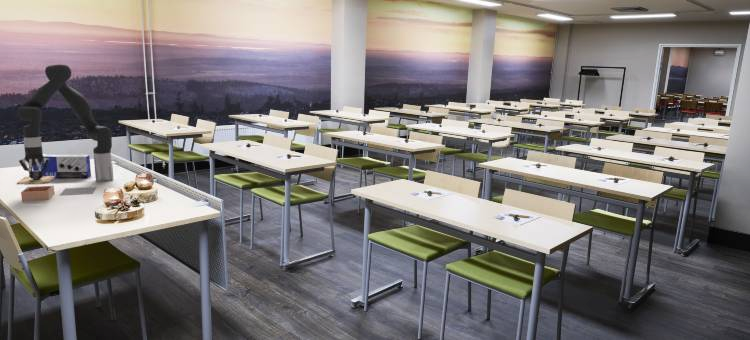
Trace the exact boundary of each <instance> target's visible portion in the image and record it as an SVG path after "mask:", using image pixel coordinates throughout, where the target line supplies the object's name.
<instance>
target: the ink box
mask: <svg viewBox="0 0 750 340" xmlns="http://www.w3.org/2000/svg"><path fill="white" fill-rule="evenodd" d="M43 156H44V158H47V159H50V161H49V164H48V166H47V169H45V170H43V176H55V178H54V179H55V180H56V179H57V180H59V179H60V180H64V179H65V180H67V179H68V180H69V179H71V180H73V179H74V180H77V179H82V180H84V179H85V180H86V179H89V178H91V177H92V171H91V159H90V158H91V157H90V154H49V155H43ZM41 164H42V168H43V167H44V164H45V162H44V160H43V161H42V162H41ZM32 171H39V169H38V167H37V165H33V169H32ZM54 179H53V180H54Z"/></svg>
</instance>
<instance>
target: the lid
mask: <svg viewBox="0 0 750 340" xmlns="http://www.w3.org/2000/svg"><path fill="white" fill-rule="evenodd" d="M32 175H33V179H31V178H30V177H29V176H25V177H23V178H21V179H20V180H18V182H16V185H17V186H18V185H24V186H25V185H46V184H50V183H51V182H52V181H53V180H54V178H55V176H43V177H42V178H39V171H33V170H32Z"/></svg>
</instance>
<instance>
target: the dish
mask: <svg viewBox="0 0 750 340" xmlns="http://www.w3.org/2000/svg"><path fill="white" fill-rule="evenodd" d="M20 195H21V202H22V203H23V202H25V201H44V200H50V199H52V197H53V196H54V195H55V186H54V185H42V186H38V185H37V186H27V187H25V188H24V189H23V190H22V191H21V192H20Z"/></svg>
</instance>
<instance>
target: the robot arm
mask: <svg viewBox="0 0 750 340" xmlns="http://www.w3.org/2000/svg"><path fill="white" fill-rule="evenodd" d="M44 72H45V75H46V78H47V79H48V80H49V81H47V82H46V83H45V84H43V85H42V86H40V87H39V88H38V89H37V90H36V91H35V93H33V95H32V97H30V99H29V100H27V101H25V102H24V103H23V104H21V106H19V108H18V109H17V112H16V113H17V114H16V115H17V117H18V119H19V120H22V121H30V122H29V124H27V125H24V126H23V128H22V129H23V132H22V133H23V147H24V155H25V156H24V158H22V159H19V161H18V162H19V164H20V166H21V168H23V170H24V171H27V172H28V175H29V176H28V177H30V178H31V179H33V175H32V171H33V165H37V167H38V169H39V178H42V177H43V170H45V169H47V166H48V164H49V161H50V159H47V158H44V156H43V154H44V153H43V144H42V143H43V142H42V139H41V132H40V131H41V130H40V128H41V123H42V119H43V112H42V110H41V109H44V108H45V106H47V104H48V103H49V101H51V100H50V99H51V98H52V97H53V95H54V94H55V93H57V91H58V92H59V93H60V95H61V96H62V98H64V100H65V101H66V103H67V104H68V107H70V109H71V110H72V112H73V113H74V114H75V115H76V117H77V118H78V120H79V121H80V123H81V124H82V127H84V129H85V131H86V132H87V135H88V136H89V138H90V139H91V140H92V141H95V142H96V143H97V144H96V146H95V147H93V163H94V174H95V182H99V183H100V182H101V183H102V182H104V183H105V182H112V181H113V180H114V170H113V169H114V167H113V163H112V150H111V149H112V145H113V144H112V142H113V137H112V131H111V129H110V128H109V127H107V126H101V125H99V124H98V123H97V122H96V120H95V119H94V116H93V114H92V113H93V112H92V111H93V110H92V107H91V105H90V103H89V101H88V99H86V97H85V96H84V95H83V94H81V92H79V91H78V90H76V89H74V88H73V87H71V86H70V85H69V84H68V81H69V80H70V79H71V77H72V70H71V68H70V66H68V65H67V64H66V63H58V64H57V63H56V64H51V65H48V66H46V67H45V69H44ZM43 160H44V162H45V164H44V167H43V168H42V164H41V162H42V161H43ZM26 162H27V164H28V166H27V164H26Z"/></svg>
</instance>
